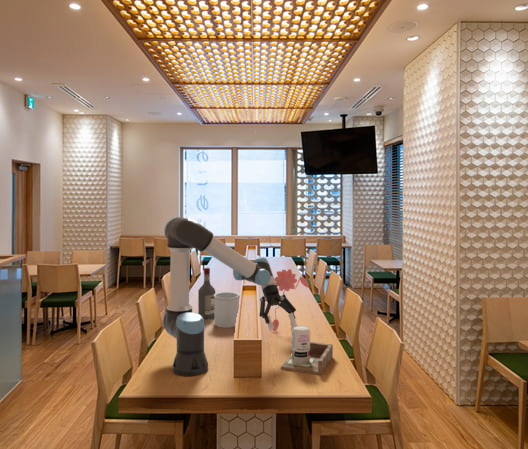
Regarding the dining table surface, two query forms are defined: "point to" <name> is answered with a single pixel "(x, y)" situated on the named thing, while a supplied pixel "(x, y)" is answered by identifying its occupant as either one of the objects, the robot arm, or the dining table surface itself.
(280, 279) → the pink flat figure
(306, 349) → the supplement can
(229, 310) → the utensil holder
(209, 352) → the dining table surface
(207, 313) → the liquor
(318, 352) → the corner tray
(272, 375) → the dining table surface
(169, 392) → the dining table surface
